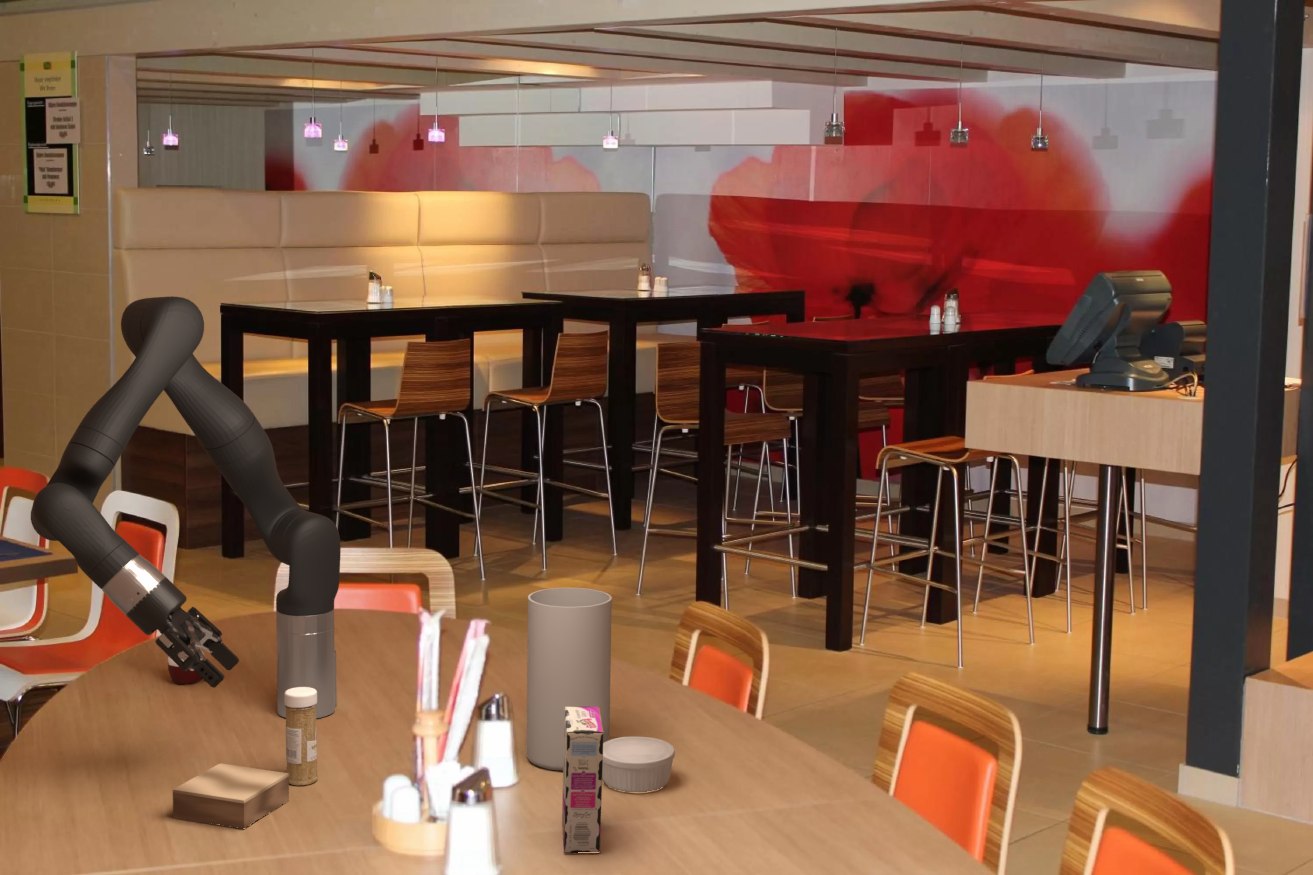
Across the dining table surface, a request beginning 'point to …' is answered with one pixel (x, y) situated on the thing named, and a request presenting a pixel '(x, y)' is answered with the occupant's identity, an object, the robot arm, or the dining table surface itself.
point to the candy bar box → (582, 779)
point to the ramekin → (637, 763)
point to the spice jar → (301, 735)
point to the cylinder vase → (565, 666)
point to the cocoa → (182, 674)
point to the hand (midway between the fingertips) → (227, 674)
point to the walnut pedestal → (230, 795)
